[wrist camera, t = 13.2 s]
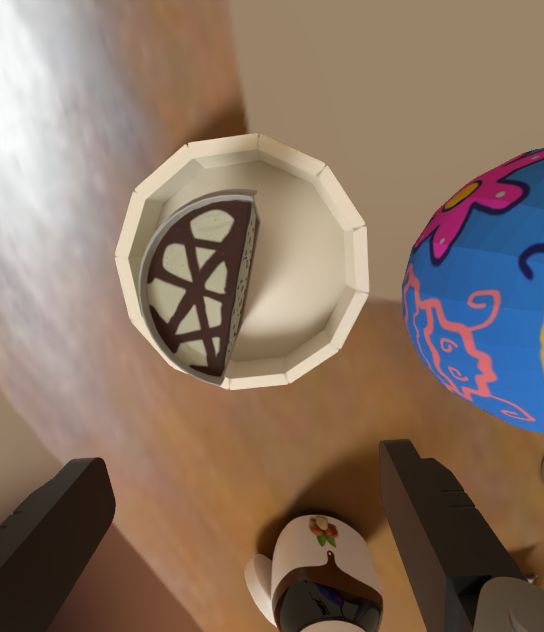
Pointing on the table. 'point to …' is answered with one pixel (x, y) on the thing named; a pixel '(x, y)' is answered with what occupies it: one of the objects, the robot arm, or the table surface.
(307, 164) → the bowl
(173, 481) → the table surface
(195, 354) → the food container
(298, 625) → the spread jar
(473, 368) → the ceramic pot
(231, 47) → the table surface
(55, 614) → the robot arm
